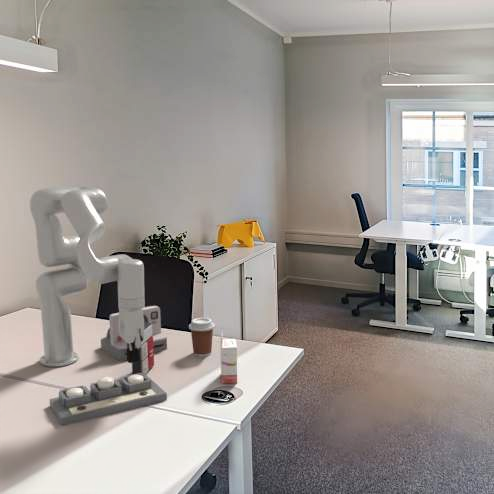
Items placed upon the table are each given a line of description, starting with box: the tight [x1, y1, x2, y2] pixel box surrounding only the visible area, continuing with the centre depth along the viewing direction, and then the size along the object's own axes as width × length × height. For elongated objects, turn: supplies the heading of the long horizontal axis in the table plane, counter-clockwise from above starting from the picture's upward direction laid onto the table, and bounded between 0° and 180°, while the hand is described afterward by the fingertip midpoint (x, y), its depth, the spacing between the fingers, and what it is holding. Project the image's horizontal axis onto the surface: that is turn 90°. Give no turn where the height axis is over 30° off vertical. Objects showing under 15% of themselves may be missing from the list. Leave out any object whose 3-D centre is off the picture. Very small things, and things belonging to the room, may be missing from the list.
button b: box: [96, 376, 115, 391], centre depth 172 cm, size 5×5×2 cm
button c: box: [128, 374, 143, 384], centre depth 176 cm, size 5×5×2 cm
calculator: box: [131, 323, 155, 375], centre depth 192 cm, size 11×4×15 cm, turn 168°
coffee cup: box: [188, 317, 216, 357], centre depth 209 cm, size 9×9×12 cm
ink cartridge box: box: [220, 330, 238, 385], centre depth 186 cm, size 9×5×15 cm, turn 5°
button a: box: [66, 387, 83, 398], centre depth 167 cm, size 5×5×2 cm
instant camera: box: [100, 305, 168, 361], centre depth 215 cm, size 21×21×15 cm
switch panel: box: [49, 373, 168, 426], centre depth 170 cm, size 14×30×4 cm, turn 121°
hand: (132, 361), depth 176 cm, fingers closed
